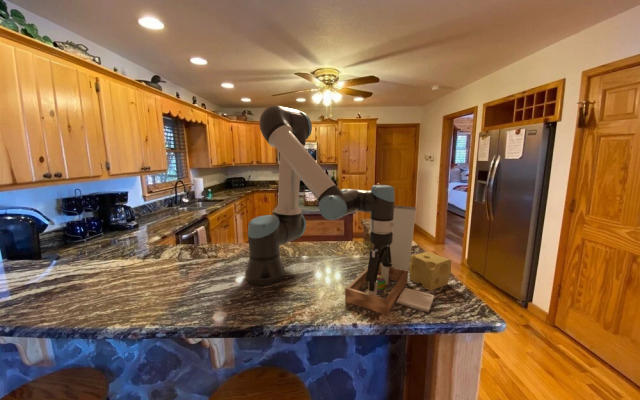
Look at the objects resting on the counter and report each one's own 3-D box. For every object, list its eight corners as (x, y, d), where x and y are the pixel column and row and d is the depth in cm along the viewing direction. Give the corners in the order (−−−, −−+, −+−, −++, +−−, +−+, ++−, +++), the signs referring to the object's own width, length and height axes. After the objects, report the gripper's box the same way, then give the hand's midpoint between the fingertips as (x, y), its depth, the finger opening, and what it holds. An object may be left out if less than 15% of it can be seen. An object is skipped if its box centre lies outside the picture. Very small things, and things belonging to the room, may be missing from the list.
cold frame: (345, 301, 85) (346, 260, 83) (376, 268, 109) (377, 236, 107) (387, 315, 78) (389, 271, 75) (410, 277, 102) (412, 243, 99)
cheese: (430, 291, 91) (432, 264, 90) (407, 278, 101) (408, 254, 99) (449, 285, 96) (452, 259, 94) (426, 273, 105) (428, 249, 104)
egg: (385, 288, 93) (386, 273, 92) (385, 295, 88) (386, 279, 87) (371, 287, 94) (372, 271, 93) (371, 294, 89) (371, 277, 88)
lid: (380, 203, 105) (380, 203, 106) (372, 262, 104) (373, 262, 105) (415, 207, 98) (416, 207, 99) (408, 271, 97) (408, 270, 98)
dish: (397, 302, 84) (397, 300, 84) (404, 290, 92) (405, 287, 92) (428, 312, 79) (429, 309, 79) (434, 298, 87) (434, 295, 87)
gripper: (379, 243, 75) (377, 311, 79) (402, 224, 96) (399, 279, 99) (356, 238, 79) (354, 303, 83) (382, 222, 100) (380, 275, 103)
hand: (378, 290), depth 91 cm, fingers open, 12 cm apart
